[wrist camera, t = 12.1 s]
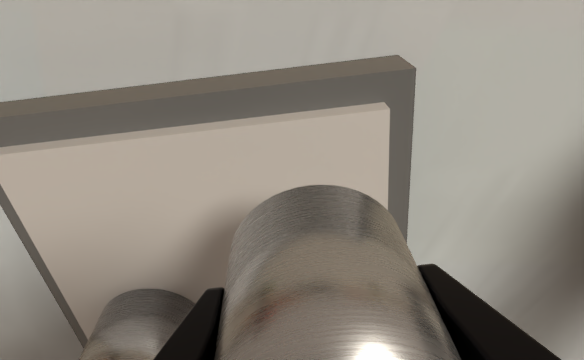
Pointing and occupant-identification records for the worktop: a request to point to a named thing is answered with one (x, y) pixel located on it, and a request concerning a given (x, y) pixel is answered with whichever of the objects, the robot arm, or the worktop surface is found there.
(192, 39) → the worktop surface
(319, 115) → the kitchen scale
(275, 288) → the cylinder
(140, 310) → the cylinder
